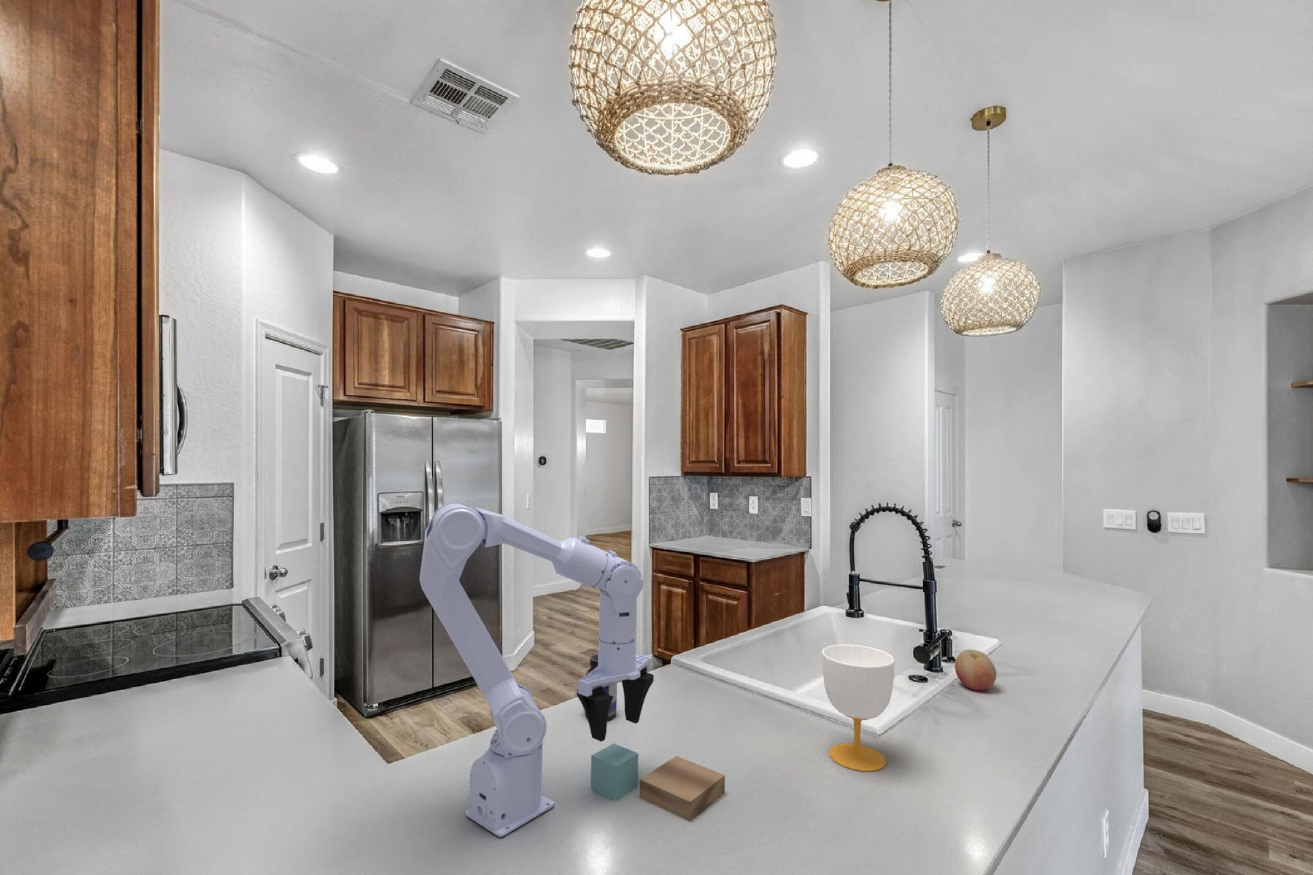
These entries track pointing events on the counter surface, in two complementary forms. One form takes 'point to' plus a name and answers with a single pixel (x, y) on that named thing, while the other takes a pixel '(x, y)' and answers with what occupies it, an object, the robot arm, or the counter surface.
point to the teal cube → (614, 771)
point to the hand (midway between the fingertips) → (615, 729)
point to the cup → (858, 696)
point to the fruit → (975, 670)
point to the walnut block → (682, 787)
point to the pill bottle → (606, 689)
